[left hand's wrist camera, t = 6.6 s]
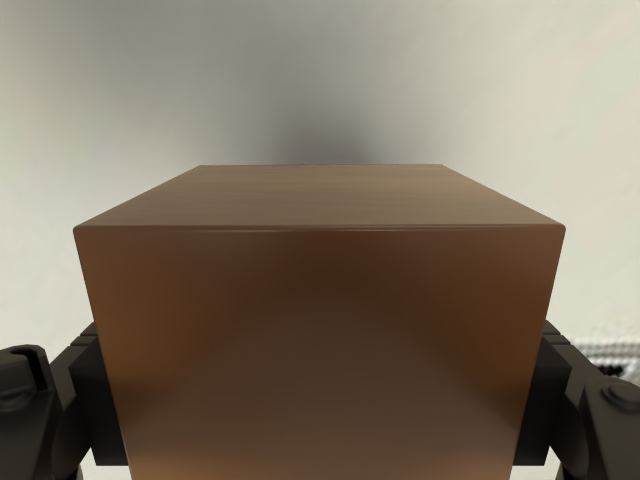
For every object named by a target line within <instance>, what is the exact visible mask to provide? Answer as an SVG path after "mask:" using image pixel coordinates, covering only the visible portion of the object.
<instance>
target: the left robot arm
mask: <svg viewBox="0 0 640 480" xmlns="http://www.w3.org/2000/svg"><path fill="white" fill-rule="evenodd" d="M550 446H551V448H552V449H553V451H554V452H555V454H556V455H557V457H558V458H559V460H560V462H561V463H560V466H559V469H558V472H557V476H556V479H555V480H640V387H638V386H636V385H634V384H632V383H630V382H627V381H624V380H621V379H618V378H615V377H608V376H604V375H603V374H602V373H601V372H600V371H599V370H598V369H597V368H596V367H595V366H594V365H593V364H592V363H591V362H590V361H589V360H588V359H587V358H586V357H585V356H584V355H583V354H582V353H581V352H580V351H579V350H578V349H577V348H576V347H575V346H574V345H571V344H570V342H569V341H568V340H567V339H566V338H565V337H564V336H563V335H561V334H560V332H559V331H558V330H557V329H556V328H555V327H554V326H553V325H552V324H551V323H550V322H549V321H547V320H545V324H544V328H543V333H542V337H541V342H540V346H539V350H538V355H537V359H536V364H535V368H534V372H533V377H532V381H531V386H530V390H529V395H528V399H527V403H526V408H525V412H524V417H523V421H522V425H521V430H520V434H519V439H518V443H517V448H516V452H515V456H514V461H513V465H512V466H544V464H545V461H546V457H547V454H548V450H549V447H550ZM90 447H91V449H92V452H93V456H94V459H95V463H96V466H129V465H128V461H127V457H126V452H125V448H124V444H123V440H122V436H121V431H120V427H119V423H118V419H117V415H116V410H115V406H114V402H113V398H112V394H111V389H110V385H109V381H108V377H107V373H106V368H105V364H104V360H103V356H102V352H101V347H100V343H99V339H98V335H97V331H96V327H95V322H92V323H91V324H90V325H89V326H88V327H87V328H86V329H85V330H84V331H83V332H82V333H81V334H80V336H78V337H77V338H76V339H75V340H74V341H73V342H72V343H71V344H70V346H68V347H67V348H66V349H65V350H64V351H63V352H62V353H61V354H59V355H58V356H57V357H56V358H55V359H54V360H53V361H52V362H51V363H50V364H49V362H48V359H47V355H46V352H45V349H43V348H42V347H40V346H38V345H29V344H27V345H19V346H12V347H9V348H6V349H2V350H0V480H83V474H82V469H81V466H80V463H81V461H82V460H83V458H84V457H85V455H86V453H87V452H88V450H89V449H90Z"/></svg>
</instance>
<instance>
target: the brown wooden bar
mask: <svg viewBox="0 0 640 480" xmlns="http://www.w3.org/2000/svg"><path fill="white" fill-rule="evenodd" d="M565 231H566V229H565V226H564V225H563V224H561V223H559V222H557V221H555V220H553V219H551V218H549V217H547V216H545V215H543V214H541V213H539V212H537V211H534V210H532V209H530V208H528V207H526V206H524V205H522V204H520V203H518V202H516V201H514V200H512V199H510V198H508V197H506V196H504V195H502V194H500V193H498V192H496V191H494V190H492V189H490V188H488V187H486V186H484V185H482V184H480V183H478V182H476V181H474V180H471V179H469V178H467V177H465V176H463V175H461V174H459V173H457V172H455V171H453V170H451V169H449V168H447V167H445V166H443V165H441V164H421V165H200V166H198V167H195V168H193V169H191V170H189V171H187V172H185V173H183V174H181V175H179V176H177V177H175V178H173V179H171V180H169V181H167V182H165V183H163V184H161V185H159V186H157V187H155V188H153V189H151V190H149V191H147V192H145V193H142V194H140V195H138V196H136V197H134V198H132V199H130V200H128V201H126V202H124V203H122V204H120V205H118V206H116V207H114V208H112V209H110V210H108V211H106V212H104V213H102V214H100V215H98V216H96V217H94V218H92V219H89V220H87V221H85V222H83V223H81V224H79V225H77V226H75V227H74V228H73V234H74V238H75V243H76V247H77V251H78V255H79V259H80V264H81V268H82V272H83V276H84V280H85V285H86V289H87V293H88V297H89V301H90V306H91V310H92V314H93V318H94V322H95V327H96V331H97V335H98V339H99V343H100V347H101V352H102V356H103V360H104V364H105V368H106V373H107V377H108V381H109V385H110V389H111V394H112V398H113V402H114V406H115V410H116V415H117V419H118V423H119V427H120V431H121V436H122V440H123V444H124V448H125V452H126V457H127V461H128V465H129V469H130V473H131V477H132V480H509V478H510V474H511V470H512V465H513V461H514V456H515V452H516V448H517V443H518V439H519V434H520V430H521V425H522V421H523V417H524V412H525V408H526V403H527V399H528V395H529V390H530V386H531V381H532V377H533V372H534V368H535V364H536V359H537V355H538V350H539V346H540V342H541V337H542V333H543V328H544V324H545V319H546V315H547V311H548V306H549V302H550V297H551V293H552V289H553V284H554V280H555V275H556V271H557V266H558V262H559V258H560V253H561V249H562V244H563V240H564V236H565Z"/></svg>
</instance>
